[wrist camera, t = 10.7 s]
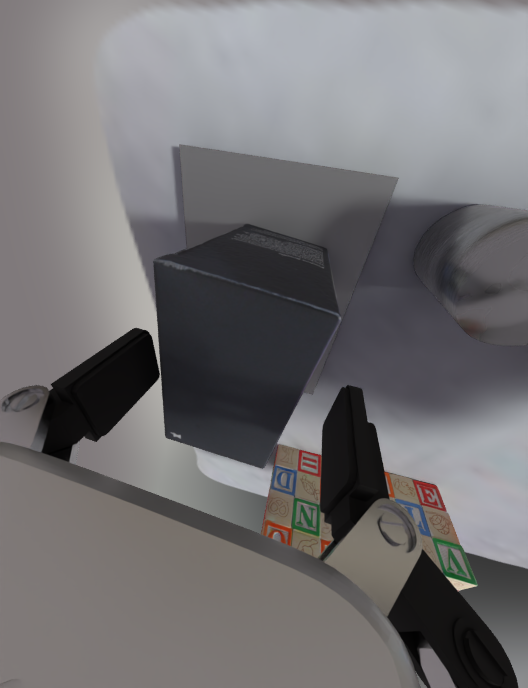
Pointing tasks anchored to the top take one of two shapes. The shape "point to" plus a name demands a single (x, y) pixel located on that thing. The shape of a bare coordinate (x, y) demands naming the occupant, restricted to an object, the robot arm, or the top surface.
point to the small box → (241, 337)
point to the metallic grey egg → (480, 271)
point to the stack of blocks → (315, 535)
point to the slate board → (287, 209)
